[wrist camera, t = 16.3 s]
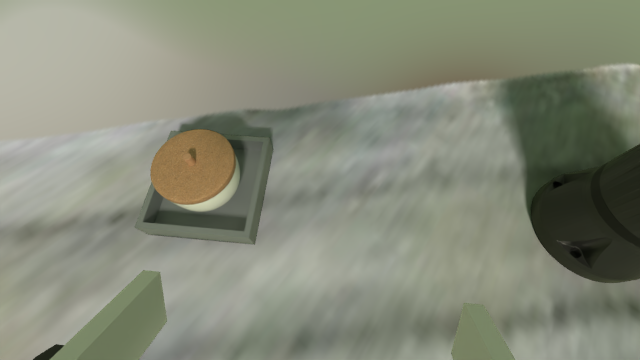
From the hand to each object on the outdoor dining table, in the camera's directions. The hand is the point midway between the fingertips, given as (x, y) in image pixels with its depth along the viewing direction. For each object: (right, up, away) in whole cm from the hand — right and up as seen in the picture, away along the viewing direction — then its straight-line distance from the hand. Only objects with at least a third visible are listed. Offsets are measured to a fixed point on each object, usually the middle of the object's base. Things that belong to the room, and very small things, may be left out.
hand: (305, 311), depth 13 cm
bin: (-15, +4, +33) cm, 37 cm away
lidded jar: (-15, +4, +33) cm, 37 cm away
